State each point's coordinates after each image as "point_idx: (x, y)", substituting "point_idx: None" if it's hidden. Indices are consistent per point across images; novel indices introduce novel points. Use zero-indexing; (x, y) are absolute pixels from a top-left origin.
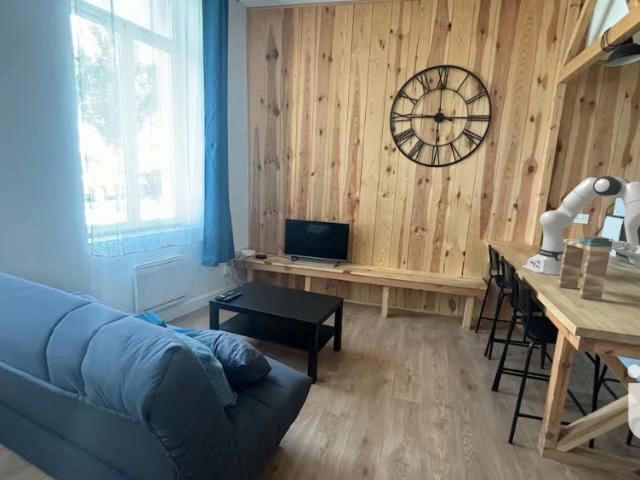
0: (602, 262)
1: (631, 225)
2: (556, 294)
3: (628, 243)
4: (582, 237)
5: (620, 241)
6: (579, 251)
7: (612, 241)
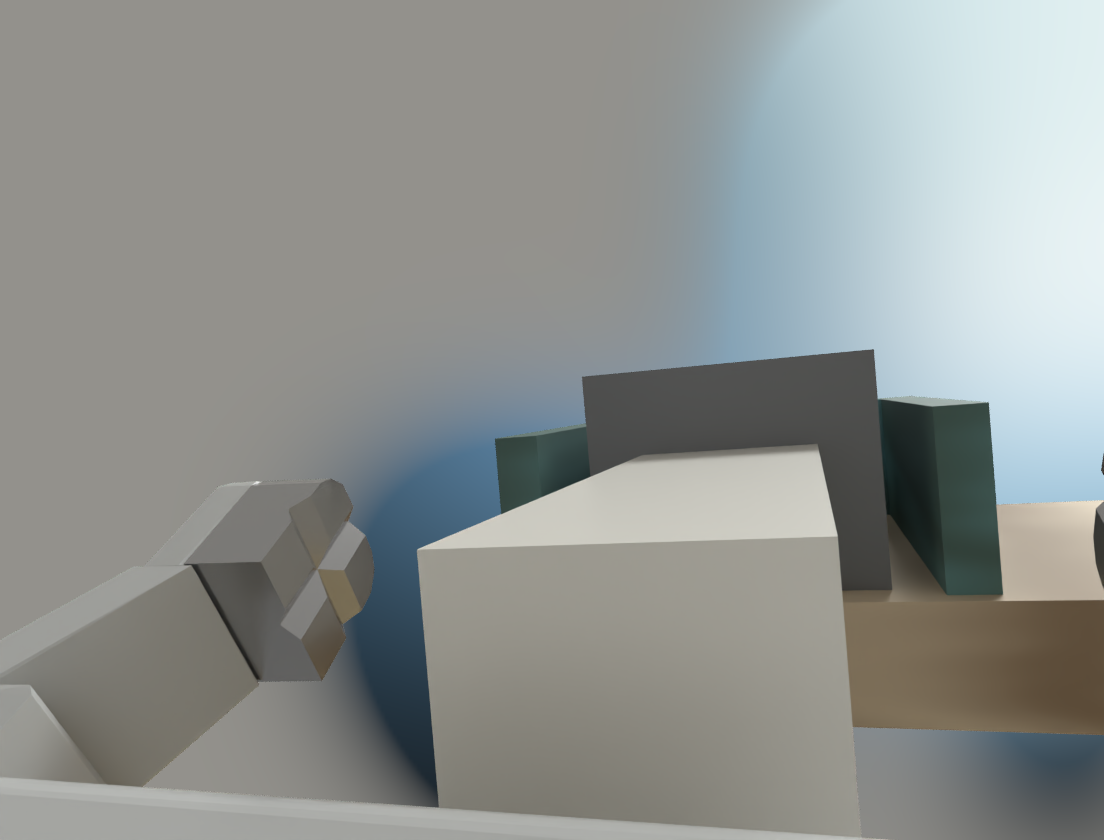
0: None
1: None
2: None
3: (198, 516)
4: (912, 396)
5: (670, 505)
6: None
7: (629, 467)
